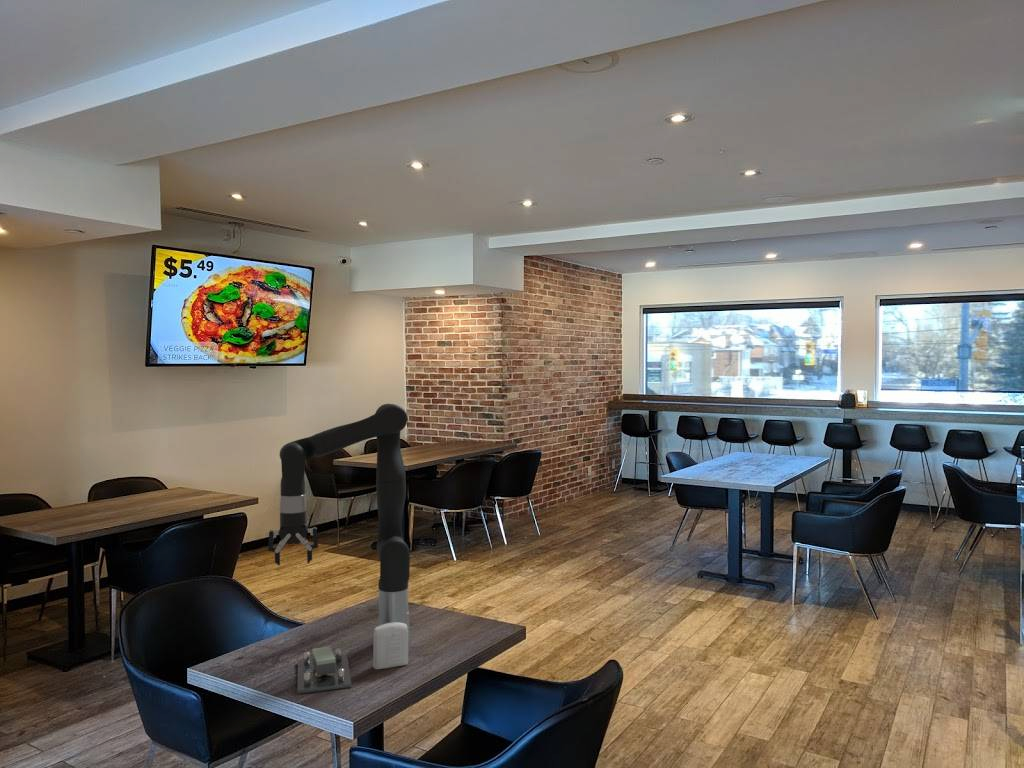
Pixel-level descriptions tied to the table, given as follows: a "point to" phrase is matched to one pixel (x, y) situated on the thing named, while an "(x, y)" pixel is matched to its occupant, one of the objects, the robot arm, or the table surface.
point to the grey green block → (323, 660)
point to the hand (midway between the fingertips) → (293, 563)
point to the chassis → (315, 683)
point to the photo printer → (390, 645)
